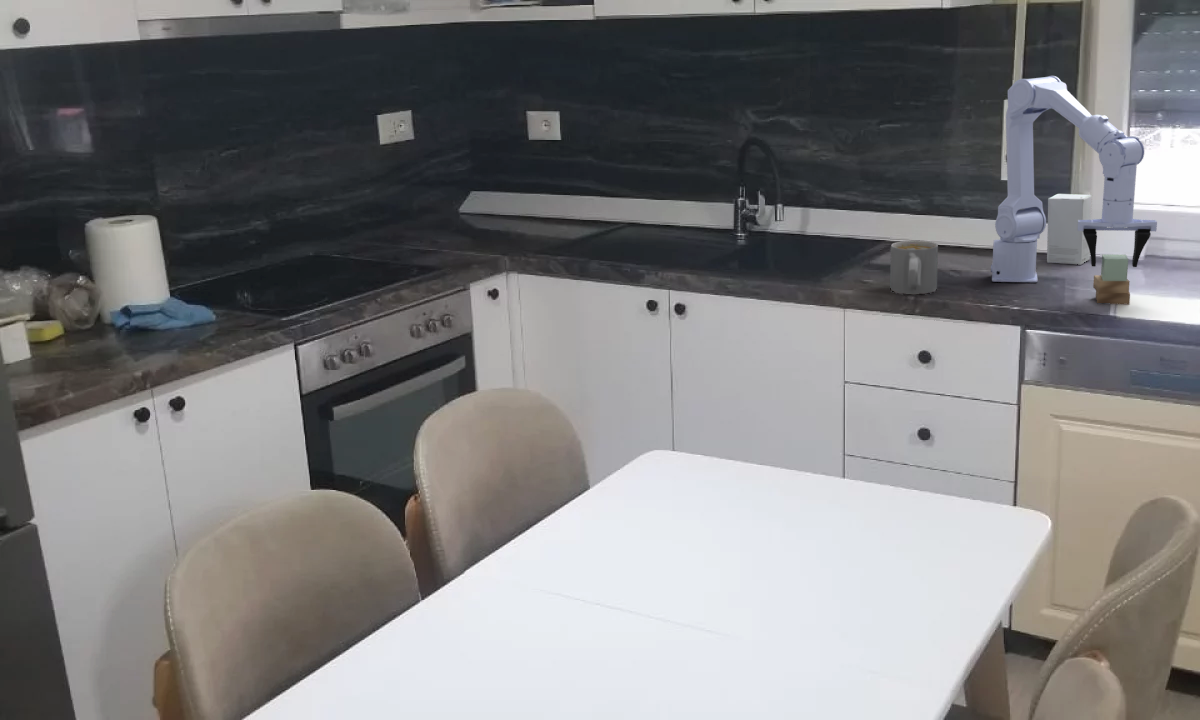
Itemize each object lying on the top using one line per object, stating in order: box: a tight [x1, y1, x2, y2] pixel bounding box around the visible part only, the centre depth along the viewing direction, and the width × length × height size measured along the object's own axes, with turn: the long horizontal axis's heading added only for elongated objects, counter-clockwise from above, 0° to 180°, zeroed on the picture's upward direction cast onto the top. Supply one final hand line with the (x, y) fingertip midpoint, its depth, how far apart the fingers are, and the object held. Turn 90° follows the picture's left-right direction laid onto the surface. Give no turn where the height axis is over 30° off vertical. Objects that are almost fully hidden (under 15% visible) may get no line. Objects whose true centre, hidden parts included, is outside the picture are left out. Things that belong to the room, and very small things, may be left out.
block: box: [1100, 254, 1129, 281], centre depth 239 cm, size 4×4×4 cm
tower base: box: [1095, 290, 1131, 305], centre depth 241 cm, size 6×6×2 cm
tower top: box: [1092, 274, 1131, 294], centre depth 240 cm, size 6×6×2 cm
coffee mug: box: [889, 240, 939, 294], centre depth 256 cm, size 13×10×10 cm
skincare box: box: [1046, 193, 1093, 266], centre depth 274 cm, size 8×7×16 cm
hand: (1113, 265), depth 239 cm, fingers open, 7 cm apart
